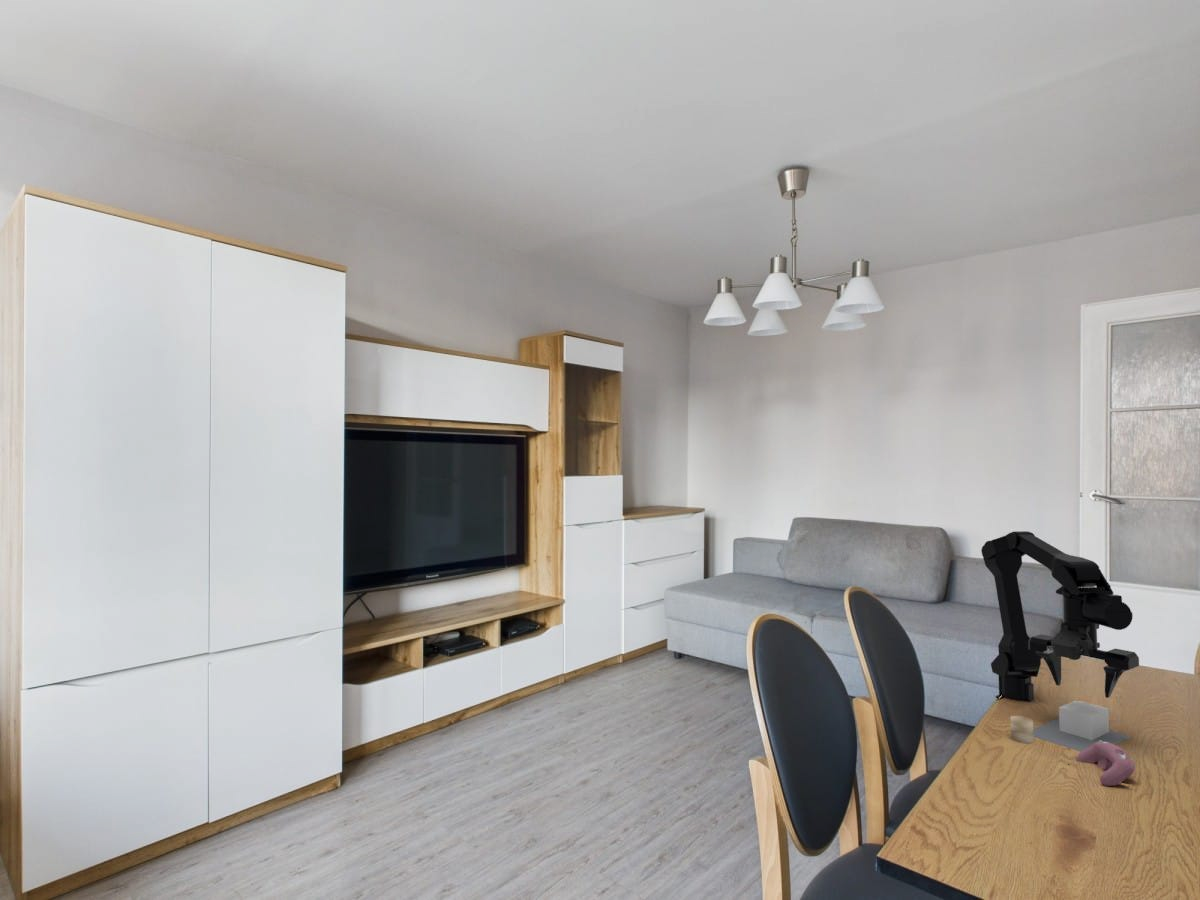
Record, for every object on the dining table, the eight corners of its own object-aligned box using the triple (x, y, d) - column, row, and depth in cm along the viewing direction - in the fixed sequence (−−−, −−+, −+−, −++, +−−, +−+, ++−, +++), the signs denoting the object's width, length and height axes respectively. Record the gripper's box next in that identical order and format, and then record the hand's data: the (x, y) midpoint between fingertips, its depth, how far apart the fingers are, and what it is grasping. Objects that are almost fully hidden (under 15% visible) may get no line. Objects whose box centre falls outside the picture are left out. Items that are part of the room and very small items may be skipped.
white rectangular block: (1059, 730, 139) (1058, 707, 140) (1076, 722, 144) (1076, 700, 144) (1092, 740, 134) (1091, 715, 135) (1109, 731, 138) (1108, 708, 139)
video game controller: (1126, 797, 116) (1145, 763, 115) (1100, 784, 116) (1118, 750, 116) (1096, 772, 125) (1113, 741, 125) (1072, 760, 126) (1088, 728, 126)
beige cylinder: (1007, 742, 136) (1006, 718, 136) (1017, 738, 138) (1016, 714, 138) (1028, 749, 132) (1027, 724, 133) (1037, 744, 134) (1036, 720, 135)
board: (1023, 737, 138) (1023, 733, 138) (1061, 720, 147) (1061, 716, 147) (1094, 759, 127) (1094, 755, 127) (1131, 740, 136) (1130, 736, 136)
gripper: (1014, 615, 144) (1016, 685, 143) (1115, 632, 128) (1118, 712, 127) (1039, 609, 149) (1041, 677, 149) (1138, 625, 134) (1141, 701, 133)
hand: (1082, 691), depth 139 cm, fingers open, 9 cm apart
